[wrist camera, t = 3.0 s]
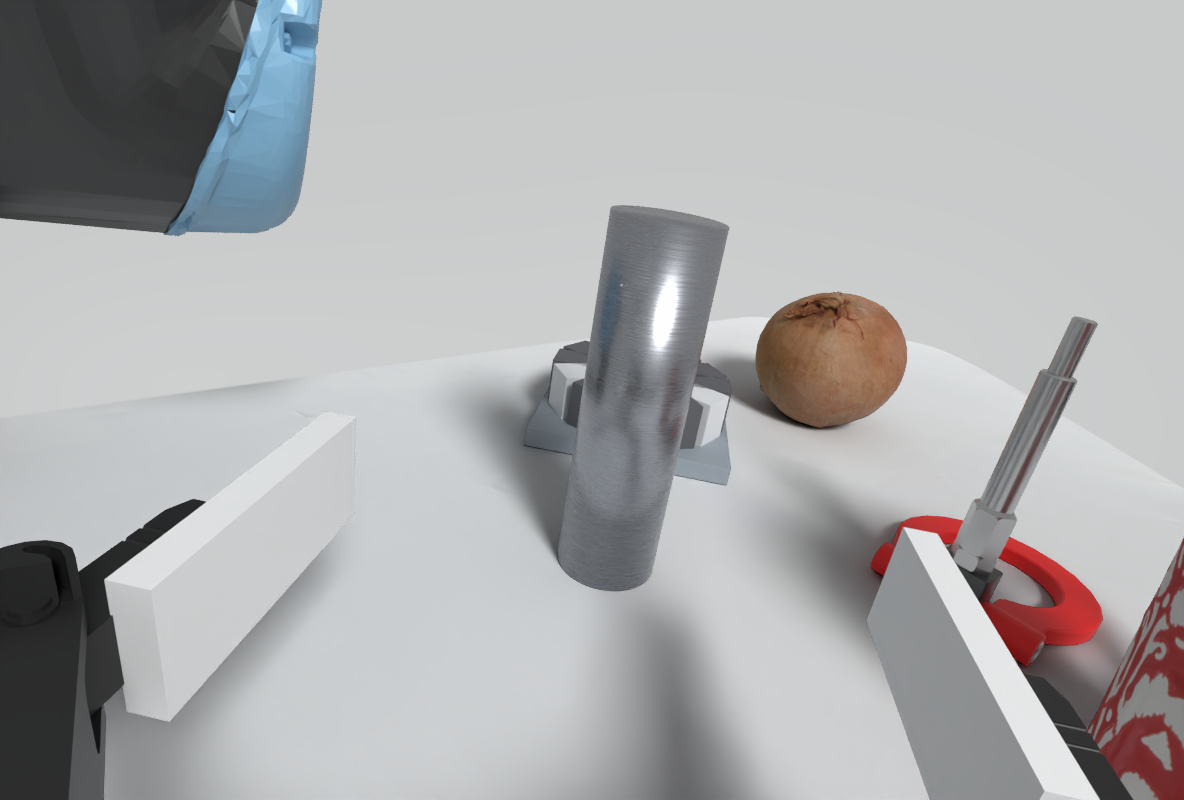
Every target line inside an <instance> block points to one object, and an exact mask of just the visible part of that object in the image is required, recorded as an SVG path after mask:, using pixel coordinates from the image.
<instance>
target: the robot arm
mask: <svg viewBox="0 0 1184 800" xmlns="http://www.w3.org/2000/svg"><path fill="white" fill-rule="evenodd" d="M321 7H322V0H0V218H5V219H16V220H28V221H39V222H50V223H61V224H72V225H83V226H94V227H105V228H116V229H127V230H139V231H149V232H161V233H164V235H175V236H179V235H182V234H185V233H186V232H222V233H223V232H224V233H258V232H263V231H267V230H269V229H271V228H274V227H276V226H279V225H280V224H282V223H283V222H285V221H286V220H287V218H288V217H289V216H290V215H291V214H292V213H293V211H294V210H295V207H296V205H297V203H298V200H299V196H300V192H301V186H302V181H303V175H304V169H305V162H306V155H307V147H308V140H309V131H310V130H309V129H310V121H311V112H312V103H313V92H314V81H315V70H316V55H315V48H316V45H317V43H318V31H319V18H320V12H321ZM355 445H356V417H351V416H346V415H341V414H336V413H331V412H324V413H323V414H322V415H321V416H319V417H318V418H317V419H315V420H314V421H313V422H311V423H310V424H309V425H307V426H306V427H305V428H303V429H302V430H301V431H299V432H298V433H297V434H295V435H294V436H293V437H292V438H290V439H289V440H288V441H286V442H285V443H284V444H282V445H281V446H280V447H278V448H277V449H276V450H274V451H273V452H272V453H270V454H269V455H268V456H266V457H265V458H264V459H263V460H261V461H260V462H259V463H257V464H256V465H255V466H253V467H252V468H251V469H249V470H248V471H247V472H245V473H244V474H243V475H241V476H240V477H239V478H237V479H236V480H235V481H234V482H232V483H231V484H230V485H228V486H227V487H226V488H224V489H223V490H222V491H220V492H219V493H218V494H216V495H215V496H214V497H212V498H211V499H210V500H208V501H207V502H205V501H200V500H196V499H192V500H189V501H187V502H184V503H182V504H179V505H177V506H174V507H172V508H169V509H167V510H165V511H163V512H162V513H160V514H159V515H158V516H156V517H155V518H153V519H152V520H151V521H149V522H148V523H146V524H145V525H144V527H143V529H141V528H139V529H138V530H137V531H135V532H134V533H132V534H131V535H130V536H128V537H127V538H126V541H121V542H120V543H118V544H117V545H116V546H114V547H113V548H111V549H110V550H109V551H107V552H106V553H104V554H103V555H102V556H100V557H99V558H97V559H96V560H95V561H93V562H92V563H90V564H89V565H88V566H86V567H85V568H83V569H82V570H81V571H79V572H78V568H77V563H76V558H75V554H74V552H73V549H72V548H71V547H69V546H67V545H65V544H64V543H62V542H54V541H47V540H42V541H29V542H22V543H18V544H14V545H10V546H6V547H3V548H0V800H104V770H105V733H106V716H105V711H104V705H103V704H104V703H105V702H106V701H107V700H108V699H109V698H110V697H111V696H112V695H113V694H114V693H115V692H116V691H118V690H119V689H120V688H121V687H123V692H124V698H125V704H126V710H127V712H130V713H134V714H138V715H143V716H147V717H151V718H155V719H159V720H163V721H168V722H170V721H171V720H172V718H173V717H174V716H175V715H176V714H177V713H178V712H179V711H180V709H181V708H182V707H183V706H184V705H185V704H186V703H187V702H188V700H189V699H190V698H191V697H192V696H193V695H194V694H195V693H196V691H197V690H198V689H199V688H200V687H201V686H202V685H203V684H204V682H205V681H206V680H207V679H208V678H209V677H210V676H211V675H212V673H213V672H214V671H215V670H216V669H217V668H218V667H219V666H220V664H221V663H222V662H223V661H224V660H225V659H226V658H227V657H228V655H229V654H230V653H231V652H232V651H233V650H234V649H235V648H236V646H237V645H238V644H239V643H240V642H241V641H242V640H243V639H244V637H245V636H246V635H247V634H248V633H249V632H250V631H251V630H252V628H253V627H254V626H255V625H256V624H257V623H258V622H259V621H260V619H261V618H262V617H263V616H264V615H265V614H266V613H267V612H268V610H269V609H270V608H271V607H272V606H273V605H274V604H275V603H276V601H277V600H278V599H279V598H280V597H281V596H282V595H283V594H284V592H285V591H286V590H287V589H288V588H289V587H290V586H291V585H292V583H293V582H294V581H295V580H296V579H297V578H298V577H299V576H300V574H301V573H302V572H303V571H304V570H305V569H306V568H307V567H308V565H309V564H310V563H311V562H312V561H313V560H314V559H315V558H316V556H317V555H318V554H319V553H320V552H321V551H322V550H323V549H324V547H325V546H326V545H327V544H328V543H329V542H330V541H331V540H332V538H333V537H334V536H335V535H336V534H337V533H338V532H339V531H340V529H341V528H342V527H343V526H344V525H345V524H346V523H347V522H348V520H349V519H350V518H351V517H352V516H353V515H354V514H355ZM866 622H867V624H868V627H869V630H870V633H871V636H872V638H873V641H874V644H875V647H876V650H877V653H878V655H879V658H880V661H881V664H882V667H883V669H884V672H885V675H886V678H887V681H888V683H889V686H890V689H891V692H892V695H893V698H894V700H895V703H896V706H897V709H898V712H899V714H900V717H901V720H902V723H903V726H904V728H905V731H906V734H907V737H908V740H909V742H910V745H911V748H912V751H913V754H914V757H915V759H916V762H917V765H918V768H919V771H920V773H921V776H922V779H923V782H924V785H925V787H926V790H927V793H928V796H929V799H930V800H1133V798H1132V797H1131V795H1130V794H1129V792H1128V791H1127V789H1126V788H1125V786H1124V785H1123V783H1122V782H1121V780H1120V779H1119V777H1118V776H1117V774H1116V773H1115V771H1114V770H1113V768H1112V766H1111V765H1110V763H1109V762H1108V760H1107V759H1106V757H1105V756H1104V755H1103V754H1100V748H1099V747H1098V745H1097V744H1096V742H1095V741H1094V739H1093V738H1092V736H1091V735H1090V733H1086V727H1085V726H1084V724H1083V723H1082V721H1081V720H1080V718H1079V717H1078V715H1077V714H1076V712H1075V711H1074V709H1073V707H1072V706H1071V704H1070V703H1069V702H1068V701H1067V700H1066V699H1065V698H1064V697H1063V696H1062V695H1061V694H1059V693H1058V692H1057V691H1056V690H1055V689H1054V688H1053V687H1052V686H1051V685H1050V684H1049V683H1048V682H1047V681H1046V680H1045V679H1044V678H1040V677H1035V676H1030V675H1025V674H1023V673H1022V671H1021V670H1020V668H1019V667H1018V665H1017V663H1016V662H1015V660H1014V658H1013V657H1012V655H1011V653H1010V652H1009V650H1008V649H1007V647H1006V645H1005V644H1004V642H1003V640H1002V639H1001V637H1000V635H999V634H998V632H997V630H996V629H995V627H994V626H993V624H992V622H991V621H990V619H989V617H988V616H987V614H986V612H985V611H984V609H983V608H982V606H981V604H980V603H979V601H978V599H977V598H976V596H975V594H974V593H973V591H972V590H971V588H970V586H969V585H968V583H967V581H966V580H965V578H964V576H963V575H962V573H961V572H960V570H959V568H958V567H957V565H956V563H955V562H954V560H953V558H952V557H951V555H950V554H949V552H948V550H947V549H946V547H945V545H944V544H943V542H942V540H941V539H940V537H939V536H938V534H936V533H931V532H926V531H921V530H916V529H911V528H906V527H903V529H902V531H901V534H900V537H899V539H898V542H897V544H896V547H895V549H894V552H893V554H892V557H891V560H890V562H889V565H888V567H887V570H886V572H885V575H884V577H883V580H882V582H881V585H880V588H879V590H878V593H877V595H876V598H875V600H874V603H873V605H872V608H871V610H870V613H869V616H868V618H867V621H866Z"/></svg>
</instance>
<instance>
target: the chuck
mask: <svg viewBox="0 0 1184 800" xmlns="http://www.w3.org/2000/svg"><path fill="white" fill-rule="evenodd" d="M589 345H590V342H588V341H583V342H579V343H575V344H571V345H567V346H564V349H559V351H558V353H557V354H556V356H555V358H554V359H553V364H552V372H551V379H550V386H549V388H548V390H547V392H546V394H545V395H544V397H543V399H542V401H541V403H540V404H539V406H538V408H537V410H536V411H535V413H534V415H533V417H532V419H531V420H530V422H529V424H528V426H527V428H526V433H525V441H524V445H527V446H532V447H537V448H542V449H547V450H552V451H557V452H562V453H567V454H572V455H573V449H574V442H575V436H576V429H577V423H578V416H579V410H580V404H581V397H582V391H583V384H584V378H585V371H586V365H587V358H588V352H589ZM730 397H731V387H730V381H729V380H726V376H725V375H724V374H722V373H721V372H719V371H718V370H717V369H715V368H714V367H712V366H711V365H710V364H708V363H701V360H699V364H698V369H697V373H696V378H695V382H694V386H693V391H692V395H691V400H690V404H689V409H688V413H687V418H686V422H685V427H684V431H683V435H682V440H681V444H680V449H679V453H678V458H677V462H676V467H675V471H674V475H678V476H683V477H688V478H693V479H698V480H703V481H708V482H713V483H718V484H723V485H727V482H728V478H729V474H730V470H731V465H730V457H729V448H728V440H727V431H726V422H725V417H726V413H727V409H728V405H729V401H730Z"/></svg>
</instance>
